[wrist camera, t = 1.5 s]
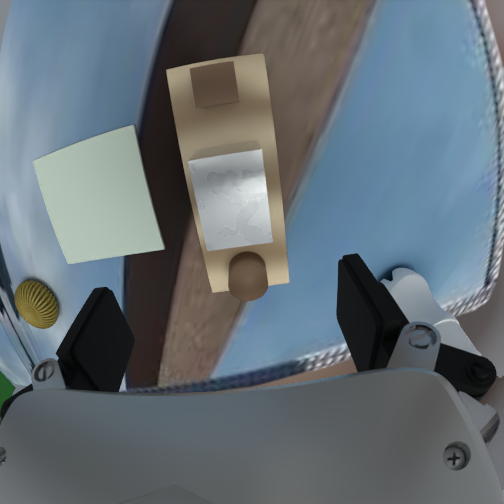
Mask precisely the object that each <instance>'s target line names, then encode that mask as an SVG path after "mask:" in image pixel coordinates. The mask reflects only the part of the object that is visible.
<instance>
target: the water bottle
mask: <svg viewBox="0 0 504 504" xmlns="http://www.w3.org/2000/svg"><path fill="white" fill-rule="evenodd" d="M392 274H393V280H392V281H388V280H386V279H383V280H381V281H380V282H382V283H383V284H384V285H385V287H386V288H387V289H388V291H389V292H390V294H391V295H392V297H393V298H394V300H395V301H396V303H397V304H398V306H399V307H400V309H401V310H402V312H403V313H404V315H405V316H406V318H407V319H408V321H409V322H410V323H412V322H417V321H421V322H426V323H429V324H431V325H433V326H434V327H435V328H436V329H437V330H438V331H439V333H440V335H441V343H443V344H446V345H449V346H452V347H455V348H458V349H461V350H464V351H467V352H470V353H473V354H476V355H479V356H481V354H480V352H478V351H477V350H476V348H475V347H474V345H473V344H472V342H471V341H470V340H469V338H468V337H467V335H466V334H465V333H464V331H463V330H462V328H461V327H460V325H459V322H458V321H457V320H456V318H455V317H454V316H453V315H452V314H449V313H447V312H446V311H444V310H443V309H442V308H441V307H440V306H439V305H438V304H437V302H436V301H435V299H434V297H433V296H432V293H431V291H430V289H429V286H428V283H427V282H426V280H425V279H424V278H423V277H422V276H421V275H419V274H417V273H416V272H414V271H412V270H410V269H407V268H397V269H394V270H393V271H392Z"/></svg>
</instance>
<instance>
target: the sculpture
mask: <svg viewBox="0 0 504 504" xmlns="http://www.w3.org/2000/svg"><path fill="white" fill-rule="evenodd" d="M46 290H47V287H45V286H44V285H42V284H41V283H39V282H37V281H32V280H28V281H24V282H22V283H21V284H20V285H19V286H18V287H17V289H16V292H15V304H16V307H17V310H18V312H19V313H20V315H21V316H22V318H23V317H24V318H23V319H24V320H26V322H28V323H29V324H31V325H32V326H34V327H37V328H40V329H46V328H49V327H51V326H53V324H54V323H55V322H56V320H57V318H58V312H59V311H58V304H57V302H56V300H55V297H54V296H53V294H52V293H51V292H50V290H49V289H48V290H47V291H46Z"/></svg>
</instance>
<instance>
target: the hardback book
mask: <svg viewBox="0 0 504 504" xmlns="http://www.w3.org/2000/svg"><path fill="white" fill-rule="evenodd" d="M14 390H15V387H14V386H13V385H12V383H11V382H10V381H9V380H8V379H7V378H6V377H5V376H4V375H3V374H2V373H1V371H0V411H1V407H2V404H3V402H4V401H5V400H7V399H8V398H10V397H11V396H12V394H13V392H14ZM0 418H1V417H0Z"/></svg>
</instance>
